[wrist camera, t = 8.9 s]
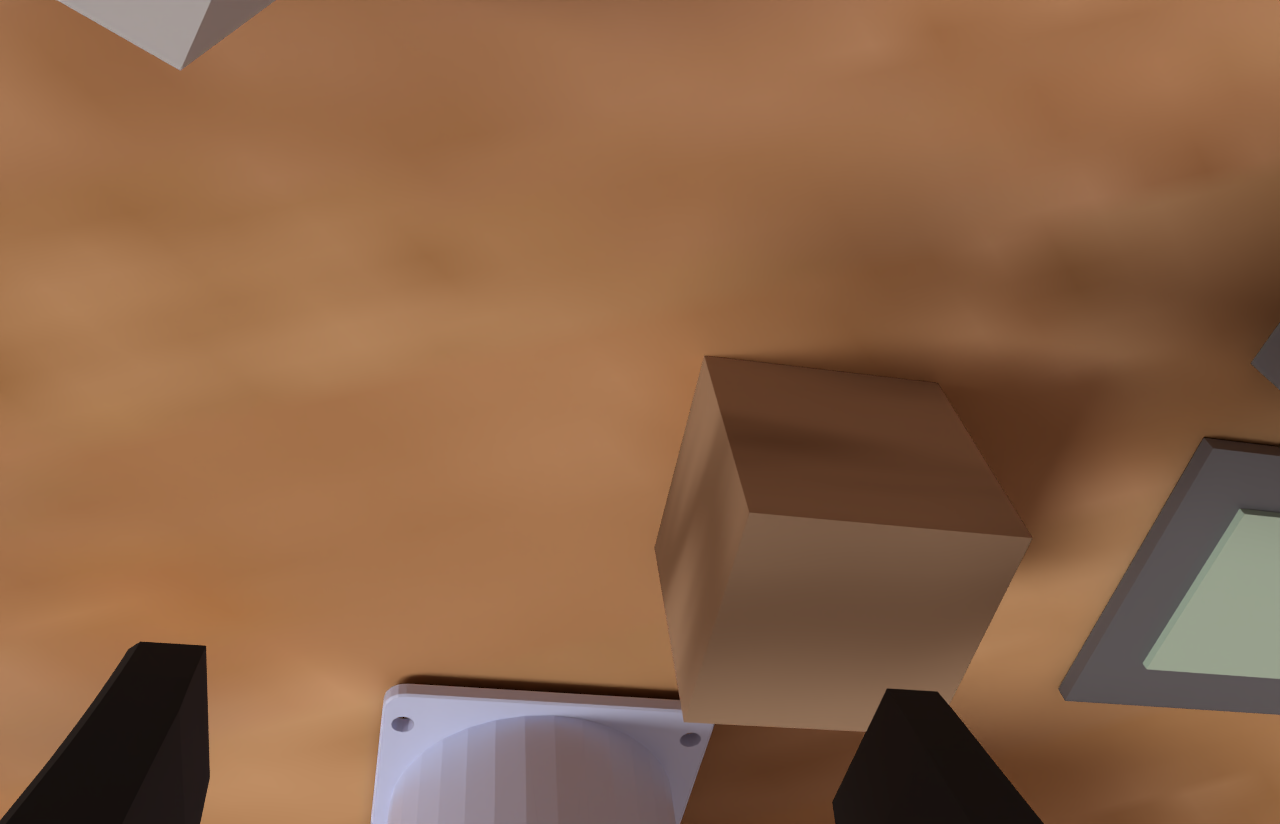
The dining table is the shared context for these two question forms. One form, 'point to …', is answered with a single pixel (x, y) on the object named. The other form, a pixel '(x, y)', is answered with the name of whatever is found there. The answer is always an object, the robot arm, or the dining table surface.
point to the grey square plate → (1197, 596)
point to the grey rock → (171, 23)
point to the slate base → (1270, 358)
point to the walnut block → (826, 546)
